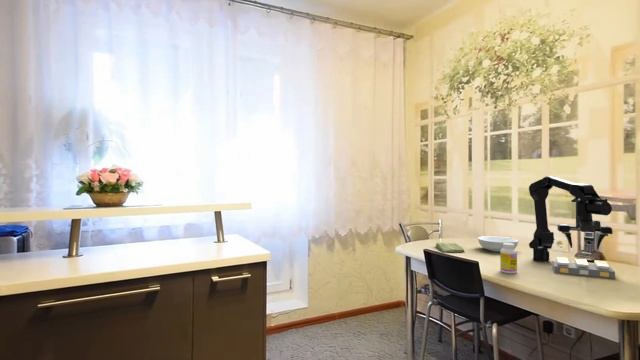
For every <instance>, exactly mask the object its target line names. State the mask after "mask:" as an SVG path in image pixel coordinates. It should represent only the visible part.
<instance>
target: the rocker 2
mask: <svg viewBox="0 0 640 360" xmlns="http://www.w3.org/2000/svg"><path fill="white" fill-rule="evenodd" d="M574 263H576V265H577V266H578V267H589V265H588V264H589V262H588V261H587V259H584V258H575V259H574Z"/></svg>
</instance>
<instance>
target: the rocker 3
mask: <svg viewBox="0 0 640 360" xmlns="http://www.w3.org/2000/svg"><path fill="white" fill-rule="evenodd" d="M594 265H596V267H597V268H600V269H609V266H610V265H609V264H608V262H607V261H605V260H598V259H597V260H596V259H595V260H594Z"/></svg>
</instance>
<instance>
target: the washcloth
mask: <svg viewBox="0 0 640 360" xmlns="http://www.w3.org/2000/svg"><path fill="white" fill-rule="evenodd" d="M435 247H436V248H437V249H438V250H439V251H441V252H442V253H444V252H448V253H465V249H464V247H462V246H460V245H459V244H457V243H455V242H454V243H452V242H451V243H450V242H447V243H446V242H436V244H435Z"/></svg>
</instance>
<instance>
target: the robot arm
mask: <svg viewBox="0 0 640 360" xmlns="http://www.w3.org/2000/svg"><path fill="white" fill-rule="evenodd" d="M554 187H555V188H557V189H561V190H563V191H567V192H568V193H569V194H570V195H571V196H573V197H574V198H573V199H572V200H570V202H571V203H575V225H574V226H573V225H572V226H571V225H569V224H567V223H566V224H564V223H559V224H557V231H558V232H561V234H562V235H563V234H564V235H565V237H566V239H567V242H568V244H569V247H570V248H573V241H572V232H570V231H578V232H582V233H586V232H589V233H595V232H596V238H595V240H596V241H595V249H596V250H599V249H600V245H601V244H602V241H603V239H604V238H605V237H609V235H613V234H614V233H613V228H612V227H611V226H608V225H601V221H600V220H593V215H597V216H598V215H599V216H609V215H610V214H612V211H613V207H612V205H611V204H610V202H608V199H607V198H601V197H600V195H599V194H598V192H597V191H596V189H595V187H594V186H593V185H592V184H587V183H575V182H572V181H569V180H566V179H562V178H559V177H556V176H554V175H546V176H544V177H542V178H541V179H538V180H536V181H534V182H531V184H530V185H529V186H528V191H529V196H530V197H531V199H532V200H533V204H534V215H535V225H536V226H535V227H536V229H535V230H534V232H533V239H532V240H531V241H530V242H529V243H528V246H529V249H532V261H534V262H542V263H549V261H550V251H549V250H551V249H552V248H553V244H554V243H555V242H554V241H555V233H554V231H551V230H550V229H549V223H548V221H549V220H548V214H547V212H548V211H547V202H546V201H547V199H548V197H549V192H550V190H551V189H553V188H554Z"/></svg>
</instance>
